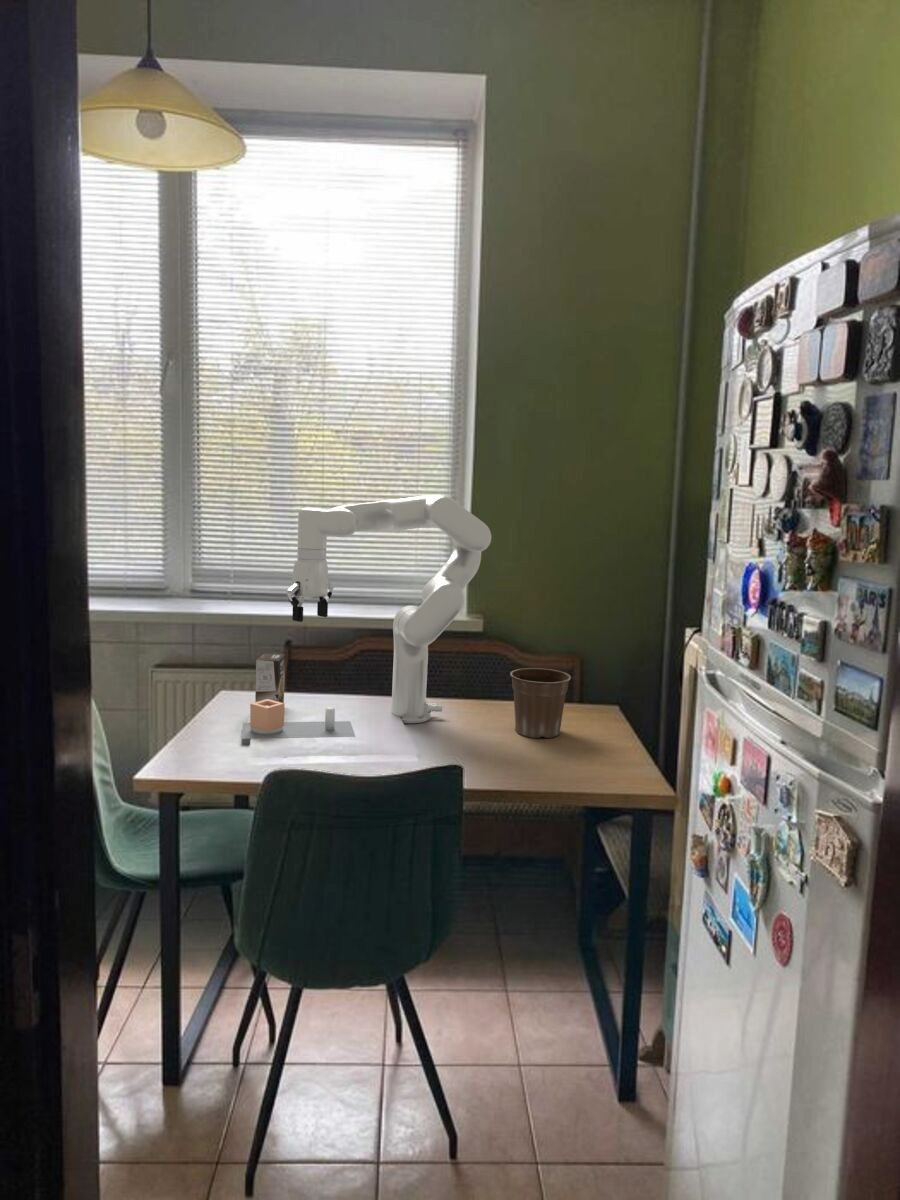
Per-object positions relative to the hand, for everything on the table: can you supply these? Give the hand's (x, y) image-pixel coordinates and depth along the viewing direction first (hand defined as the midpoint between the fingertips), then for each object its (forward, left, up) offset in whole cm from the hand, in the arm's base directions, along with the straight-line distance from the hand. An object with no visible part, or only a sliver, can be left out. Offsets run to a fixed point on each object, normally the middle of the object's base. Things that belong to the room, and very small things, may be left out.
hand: (310, 618), depth 232 cm
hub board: (+3, +12, -28) cm, 31 cm away
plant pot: (-61, +13, -29) cm, 69 cm away
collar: (+11, +12, -26) cm, 30 cm away
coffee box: (+10, -8, -28) cm, 31 cm away
